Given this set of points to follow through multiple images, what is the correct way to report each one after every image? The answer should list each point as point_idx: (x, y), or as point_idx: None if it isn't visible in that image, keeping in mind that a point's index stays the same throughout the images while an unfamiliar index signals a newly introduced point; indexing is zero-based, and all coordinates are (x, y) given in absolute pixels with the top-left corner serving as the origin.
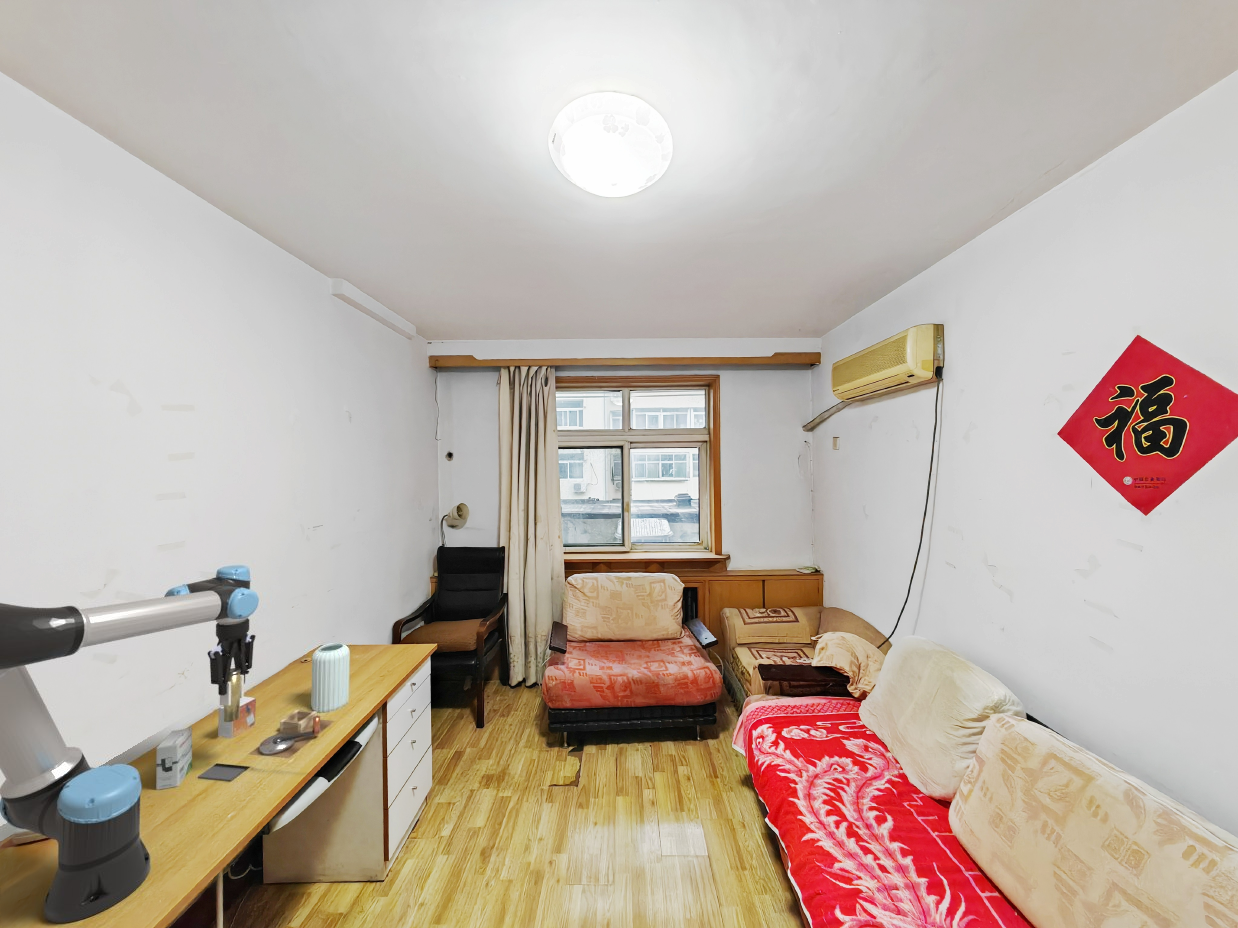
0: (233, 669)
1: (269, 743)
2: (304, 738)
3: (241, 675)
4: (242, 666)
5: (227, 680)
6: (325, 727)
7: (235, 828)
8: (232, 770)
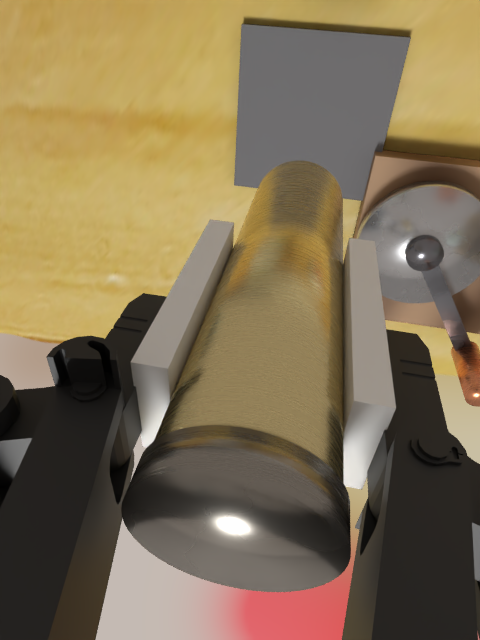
0: (287, 533)
1: (410, 227)
2: (465, 303)
3: (348, 472)
4: (346, 621)
5: (112, 474)
6: None
7: (85, 314)
8: (287, 149)
